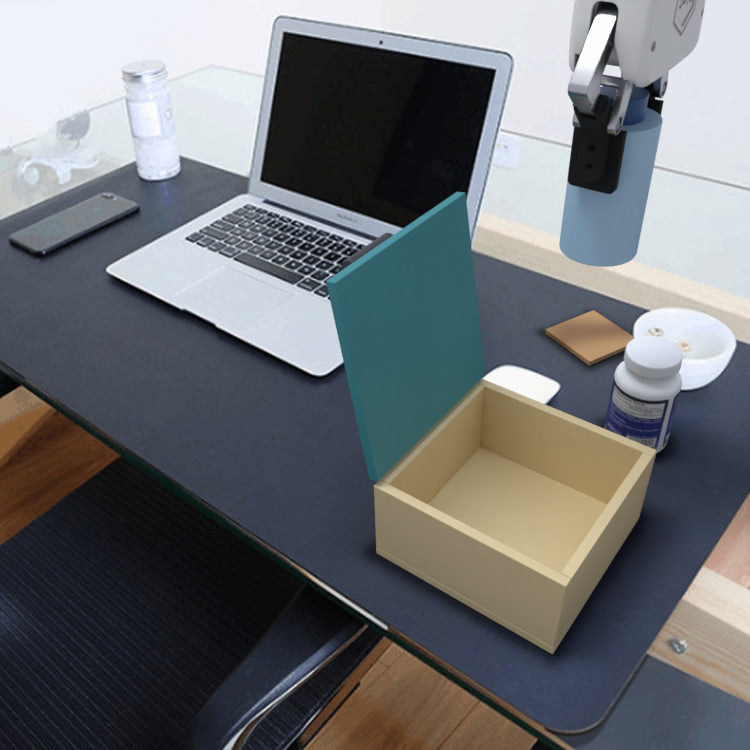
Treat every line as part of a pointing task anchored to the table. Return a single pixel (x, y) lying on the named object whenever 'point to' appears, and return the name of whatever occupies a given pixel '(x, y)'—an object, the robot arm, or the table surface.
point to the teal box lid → (409, 330)
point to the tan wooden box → (513, 509)
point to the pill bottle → (646, 391)
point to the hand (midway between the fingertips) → (611, 168)
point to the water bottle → (615, 194)
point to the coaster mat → (590, 337)
